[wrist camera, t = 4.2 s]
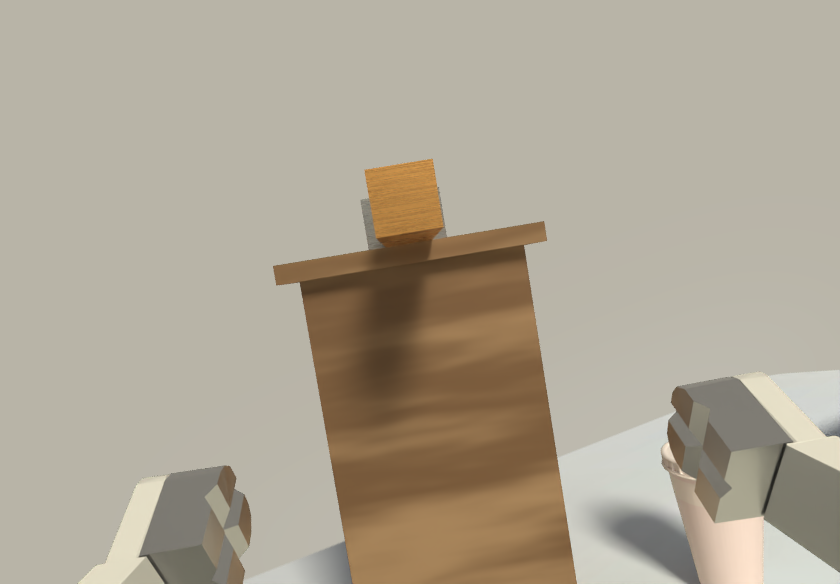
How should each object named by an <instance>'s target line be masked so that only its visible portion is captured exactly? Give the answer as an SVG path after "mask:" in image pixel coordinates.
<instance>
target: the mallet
mask: <svg viewBox="0 0 840 584" xmlns="http://www.w3.org/2000/svg"><path fill="white" fill-rule="evenodd" d="M365 176H366V182H367V187H368V193H369V199H363V200H361V205H362V212H363V218H364V224H365V230H366V235H367V241H368V248H369V250H373V249H380V248H386V247H392V246H398V245H404V244H410V243H416V242H422V241H428V240H434V239H440V238H446V237H447V235H446V229H445V223H444V218H443V212H442V205H441V198H440V192H439V187H437V183H436V177H435V171H434V165H433V159H428V160H422V161H417V162H410V163H404V164H398V165H392V166H386V167H379V168H373V169H368V170H365Z"/></svg>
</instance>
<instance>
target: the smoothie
mask: <svg viewBox="0 0 840 584" xmlns="http://www.w3.org/2000/svg"><path fill="white" fill-rule="evenodd" d="M661 455H662V465H663V467H664V469H665V470H667V471H668V472H669V474H670V478H671V482H672V486H673V489H674V493H675V496H676V499H677V503H678V507H679V510H680V514H681V517H682V521H683V524H684V528H685V531H686V535H687V539H688V542H689V546H690V549H691V553H692V556H693V560H694V563H695V567H696V571H697V574H698V578H699V581H700V584H763V540H764V519H763V518H764V516H762V517H755V518H749V519H742V520H735V521H728V522H722V523H715V524H714V522H713V520H712V519H711V517H710V516H709V514H708V512H707V511H706V509H705V508H704V506H703V504H702V503H701V501H700V500H699V498H698V497H697V495H696V493H695V492H694V491H695V485H696V479H695V478H693V477H691V476H689V475H688V474H686V473H684V472H683V471H681V469H680V467H679V466H678V464H677V462H676V461H675V459H674V456H673V454H672V452H671V449H670V445H669V442H667V443H666V444H664V445H663V447H662V448H661Z"/></svg>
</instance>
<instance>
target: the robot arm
mask: <svg viewBox="0 0 840 584" xmlns="http://www.w3.org/2000/svg"><path fill="white" fill-rule="evenodd" d="M671 403H672V405H673V406H674V408H675V409H676V413H675V414H674V415H673V416H672V417H671V418H670V419H669V420H668V431H667V435H668V440H669V445H670V449H671V452H672V454H673V456H674V459H675V461H676V462H677V464H678V466H679V467H680V469H681V471H683V472H684V473H686V474H688V475H689V476H691V477H693V478H695V479H696V485H695V491H694V492H695V493H696V495H697V497H698V498H699V500H700V501H701V503H702V504H703V506H704V508H705V509H706V511H707V512H708V514H709V516H710V517H711V519H712V520H713V522H714V524H715V523H722V522H728V521H735V520H742V519H749V518H755V517H762V516H764V518H763V519H764V520H766V521H767V522H768V523H770V524H771V525H773V526H774V527H776V528H777V529H778V530H780V531H781V532H783V533H784V534H786V535H787V536H788V537H790V538H791V539H793V540H794V541H795V542H797V543H798V544H800V545H801V546H803V547H804V548H805V549H807V550H808V551H810V552H811V553H813V554H814V555H815V556H817V557H818V558H820V559H821V560H822V561H824V562H825V563H827V564H828V565H830V566H831V567H832V568H834V569H835V570H837V571H838V572H840V437H837V436H829V437H826V436H825V435H824V434H823V432H822V431H821V430H820V429H819V428H818V427H817V426H816V425H815V424H814V423H813V422H812V421H811V420H810V419H809V418H808V417H807V416H806V415H805V414H804V413H803V412H802V411H801V410H800V409H799V408H798V407H797V406H796V405H795V404H794V402H793V401H792V400H791V399H790V398H789V397H788V396H787V395H786V394H785V393H784V392H783V391H782V390H781V389H780V388H779V387H778V386H777V385H776V384H775V383H774V382H773V381H772V380H771V379H770V378H769V377H768V376H767V375H766V374H764V373H762V372H754V373H748V374H743V375H737V376H732V377H725V378H720V379H714V380H709V381H704V382H699V383H693V384H687V385H682V386H677V387H676V388H675V390H674V391H673V393H672V400H671ZM235 483H236V476H235V475H234V473H233V471H232V469H231V467H230V466H219V467H213V468H205V469H198V470H192V471H185V472H178V473H171V474H168V475H162V476H154V477H148V478H143V479H142V480H141V481H140V482H139V483H138V484H137V485H136V487H135V489H134V492H133V494H132V497H131V499H130V502H129V504H128V507H127V509H126V512H125V514H124V517H123V519H122V521H121V524H120V526H119V529H118V531H117V534H116V537H115V539H114V541H113V544H112V546H111V549H110V551H109V554H108V556H107V559H106V561H105V563H104V564H100V565H96V566H95V567H94V568H93V569H92V570H91V571H90V572H89V573H88V574H86V576H85V577H83V579H82V580H80V581H79V582H78V583H77V584H243V579H244V573H245V570H244V568H243V566H242V564H241V562H240V560H239V559H240V557H241V556H242V555H243V554H244V552H245V551H246V550H247V549H248V547H249V544H250V537H251V514H250V509H249V505H248V502H247V500H246V498H245V495H244V494H243V493H241V492H239V491H237V490H235V489H234V487H235Z"/></svg>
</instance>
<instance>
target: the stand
mask: <svg viewBox="0 0 840 584" xmlns="http://www.w3.org/2000/svg"><path fill="white" fill-rule="evenodd" d="M543 241H547V237H546V231H545V224H544V221H543V222H537V223H531V224H525V225H520V226H513V227H507V228H501V229H495V230H489V231H483V232H477V233H470V234H465V235H458V236H453V237H446V238H440V239H434V240H428V241H422V242H416V243H410V244H404V245H398V246H392V247H386V248H380V249H373V250H367V251H361V252H355V253H349V254H343V255H338V256H332V257H325V258H319V259H313V260H307V261H301V262H295V263H289V264H283V265H276V266H273V268H274V274H275V280H276V285H284V284H291V283H298V282H300V287H301V292H302V298H303V304H304V309H305V315H306V320H307V326H308V332H309V338H310V343H311V349H312V355H313V361H314V366H315V372H316V377H317V383H318V389H319V395H320V400H321V406H322V412H323V417H324V423H325V429H326V434H327V440H328V446H329V452H330V458H331V463H332V469H333V475H334V480H335V486H336V492H337V497H338V503H339V509H340V514H341V520H342V526H343V531H344V537H345V543H346V549H347V555H348V560H349V566H350V572H351V577H352V583H353V584H577V582H576V575H575V569H574V563H573V556H572V550H571V543H570V537H569V531H568V524H567V518H566V511H565V505H564V499H563V492H562V486H561V479H560V473H559V467H558V460H557V454H556V447H555V442H554V435H553V428H552V422H551V415H550V409H549V403H548V397H547V390H546V384H545V377H544V371H543V364H542V358H541V351H540V345H539V339H538V332H537V326H536V319H535V313H534V307H533V300H532V294H531V287H530V281H529V275H528V268H527V262H526V256H525V249H524V245H527V244H532V243H538V242H543Z"/></svg>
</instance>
